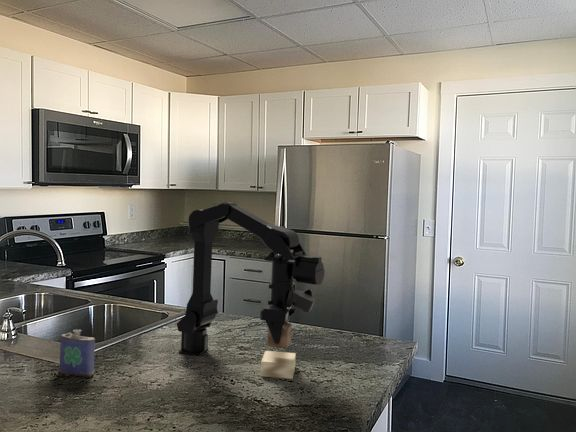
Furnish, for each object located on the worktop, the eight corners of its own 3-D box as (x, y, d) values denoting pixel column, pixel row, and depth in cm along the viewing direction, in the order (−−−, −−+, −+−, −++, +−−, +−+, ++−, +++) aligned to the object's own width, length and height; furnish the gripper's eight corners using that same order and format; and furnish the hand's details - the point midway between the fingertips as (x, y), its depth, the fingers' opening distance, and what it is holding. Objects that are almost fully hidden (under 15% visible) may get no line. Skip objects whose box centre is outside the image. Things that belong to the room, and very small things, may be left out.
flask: (96, 374, 117) (97, 330, 117) (88, 378, 115) (89, 333, 114) (64, 368, 120) (65, 325, 119) (55, 372, 117) (56, 328, 116)
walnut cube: (267, 346, 122) (268, 326, 122) (272, 340, 127) (273, 321, 127) (286, 348, 121) (288, 328, 121) (290, 342, 126) (291, 323, 126)
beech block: (260, 377, 121) (261, 361, 121) (264, 365, 129) (265, 350, 129) (292, 379, 120) (293, 364, 120) (295, 368, 128) (295, 353, 128)
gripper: (307, 289, 113) (304, 356, 114) (319, 276, 131) (316, 333, 132) (261, 285, 115) (258, 350, 116) (278, 272, 133) (275, 329, 134)
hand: (279, 340), depth 124 cm, fingers closed on walnut cube, 5 cm apart
